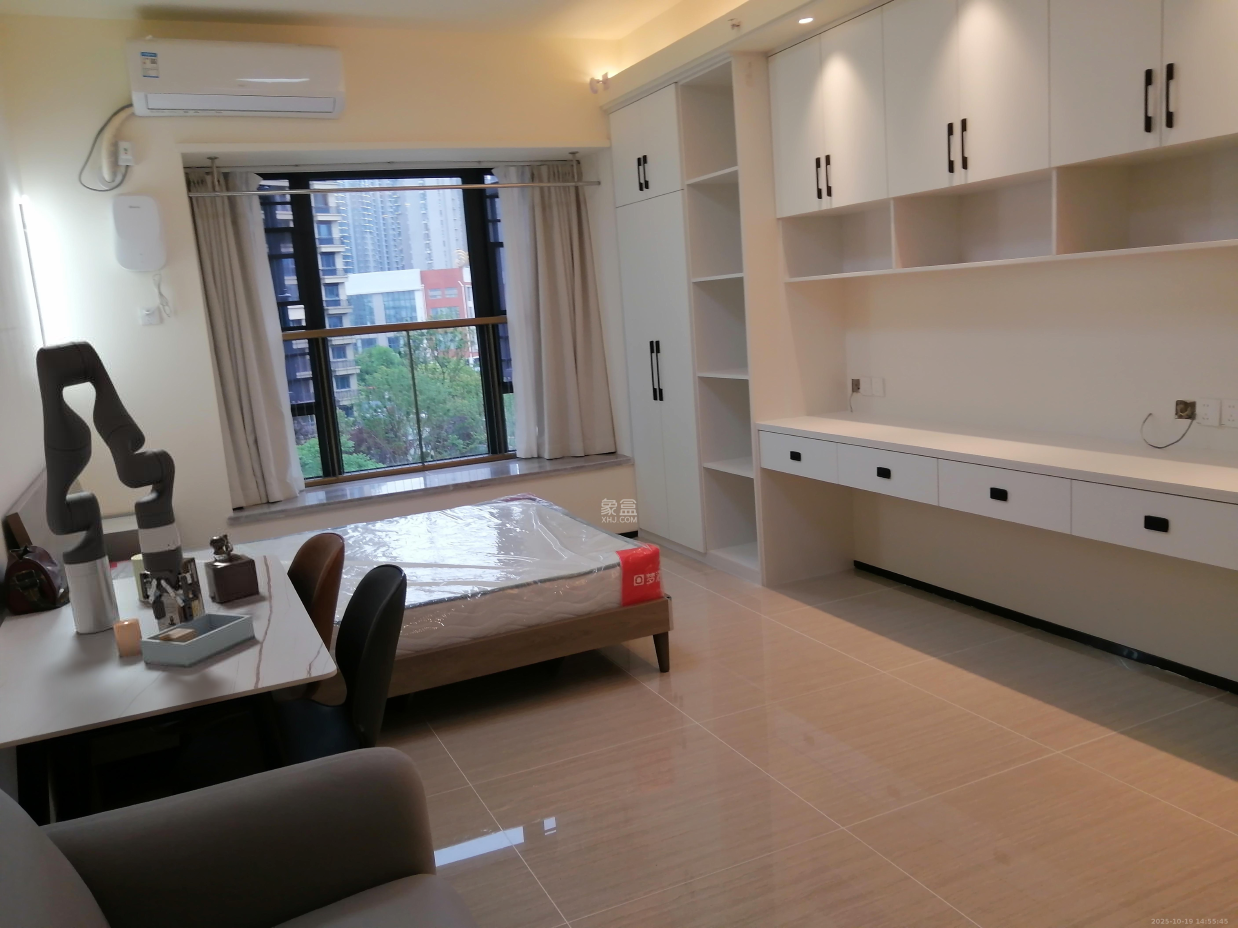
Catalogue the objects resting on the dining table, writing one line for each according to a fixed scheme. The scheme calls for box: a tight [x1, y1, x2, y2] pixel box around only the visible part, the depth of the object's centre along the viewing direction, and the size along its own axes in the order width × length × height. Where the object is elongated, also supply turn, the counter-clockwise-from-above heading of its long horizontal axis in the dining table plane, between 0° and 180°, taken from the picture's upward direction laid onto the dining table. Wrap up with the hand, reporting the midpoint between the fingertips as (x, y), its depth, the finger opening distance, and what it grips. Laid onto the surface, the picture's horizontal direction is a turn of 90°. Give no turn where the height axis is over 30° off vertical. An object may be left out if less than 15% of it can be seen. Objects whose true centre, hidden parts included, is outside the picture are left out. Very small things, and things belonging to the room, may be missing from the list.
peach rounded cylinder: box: [113, 618, 143, 658], centre depth 204 cm, size 5×5×7 cm
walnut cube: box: [158, 628, 196, 643], centre depth 197 cm, size 5×5×5 cm
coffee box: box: [156, 556, 207, 633], centre depth 217 cm, size 9×6×16 cm
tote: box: [140, 611, 256, 668], centre depth 201 cm, size 14×18×5 cm
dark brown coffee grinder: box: [203, 533, 260, 604], centre depth 239 cm, size 16×11×18 cm
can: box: [130, 553, 150, 602], centre depth 250 cm, size 9×9×12 cm
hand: (174, 619), depth 196 cm, fingers open, 8 cm apart
